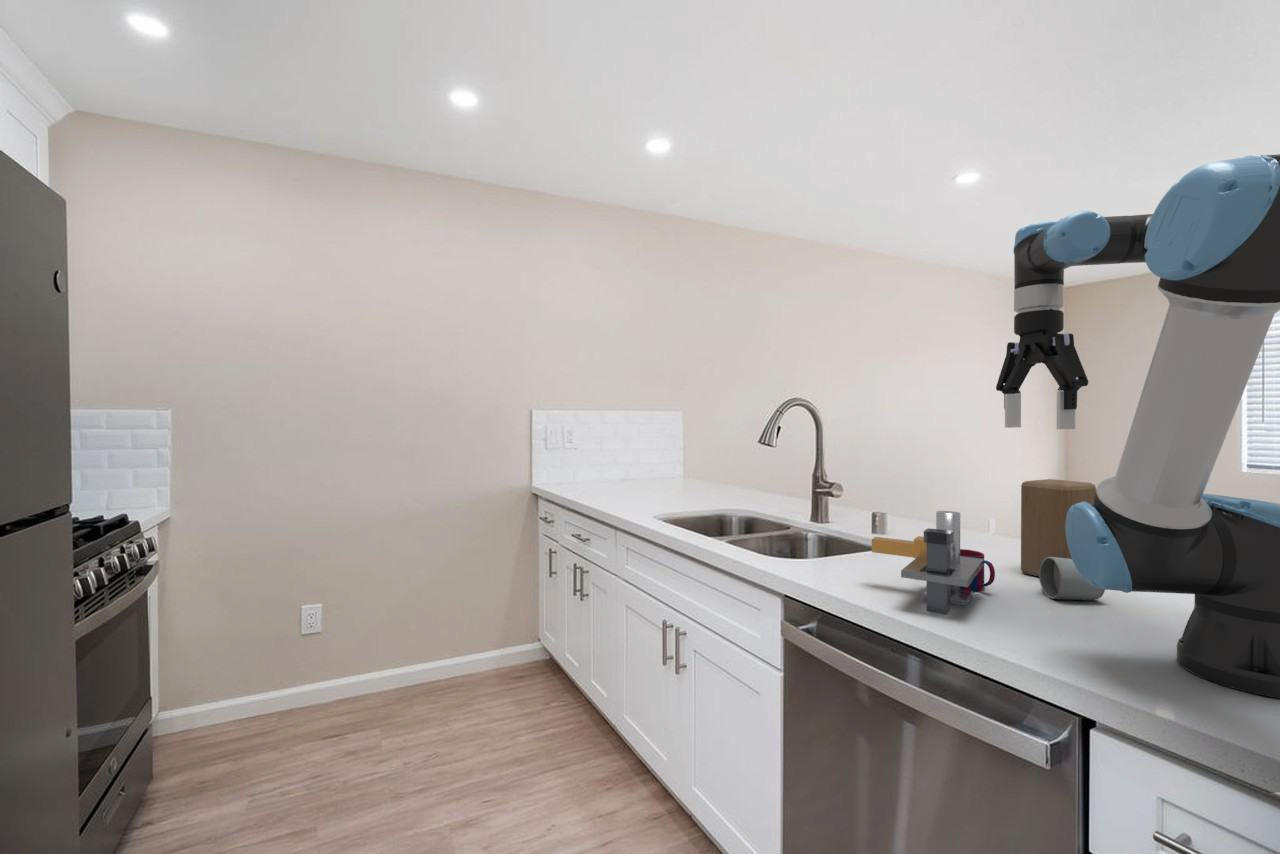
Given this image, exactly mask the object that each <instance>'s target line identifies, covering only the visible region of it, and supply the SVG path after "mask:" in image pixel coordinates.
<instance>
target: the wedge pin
mask: <svg viewBox="0 0 1280 854" xmlns="http://www.w3.org/2000/svg"><path fill="white" fill-rule="evenodd" d="M923 537H924V543H927V573H934V574H941V575H948V576H950V557H951V544H952V543H954V531H949V530H939V529H936V528H929V527H927V528H926V529H925V530H923ZM926 590H927V592H926V599H925V600H926V601H925V602H926V603H925V604H926V606H925V607H926V612H930V613H935V614H942V615H946V616H947V614H949V612H950V611H951V603H950V585H949V584H943V583H936V582H929V581H926Z"/></svg>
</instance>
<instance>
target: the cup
mask: <svg viewBox="0 0 1280 854" xmlns="http://www.w3.org/2000/svg"><path fill="white" fill-rule="evenodd" d="M960 556H963V557H971V558H979V559H984V564H986V566H987V567H988V570H989V579H988V581H987V582H985V565H984V566H983V567H982V568H981V570H980V571H979V573H978V574H977V575H976V577H975V578H974V579H973V581H972V582H971V583H970V585H969V586H968V587H962V586H960V589H963V590H969V591H972V592H979V591H980V592H981V591H983V590H985V587H988V586H991V585H992V584H993V583H994V581H995V578H996V571H995V567H994V565H993V564H992V562H990V561H989V560H985V554H984V553H983V552H981V551H977V550H972V549H965V548H960Z"/></svg>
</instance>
